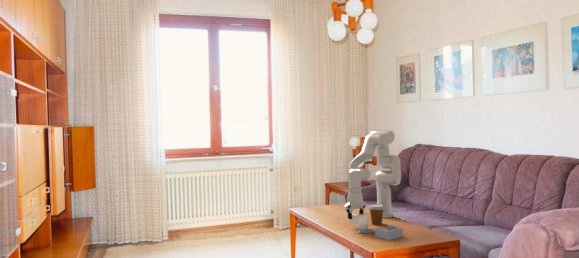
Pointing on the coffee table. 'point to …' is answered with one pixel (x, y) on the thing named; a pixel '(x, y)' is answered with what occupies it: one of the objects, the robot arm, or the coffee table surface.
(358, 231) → the grey round disc
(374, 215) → the disposable coffee cup
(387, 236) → the holder
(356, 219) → the white lever knob
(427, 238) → the coffee table surface
